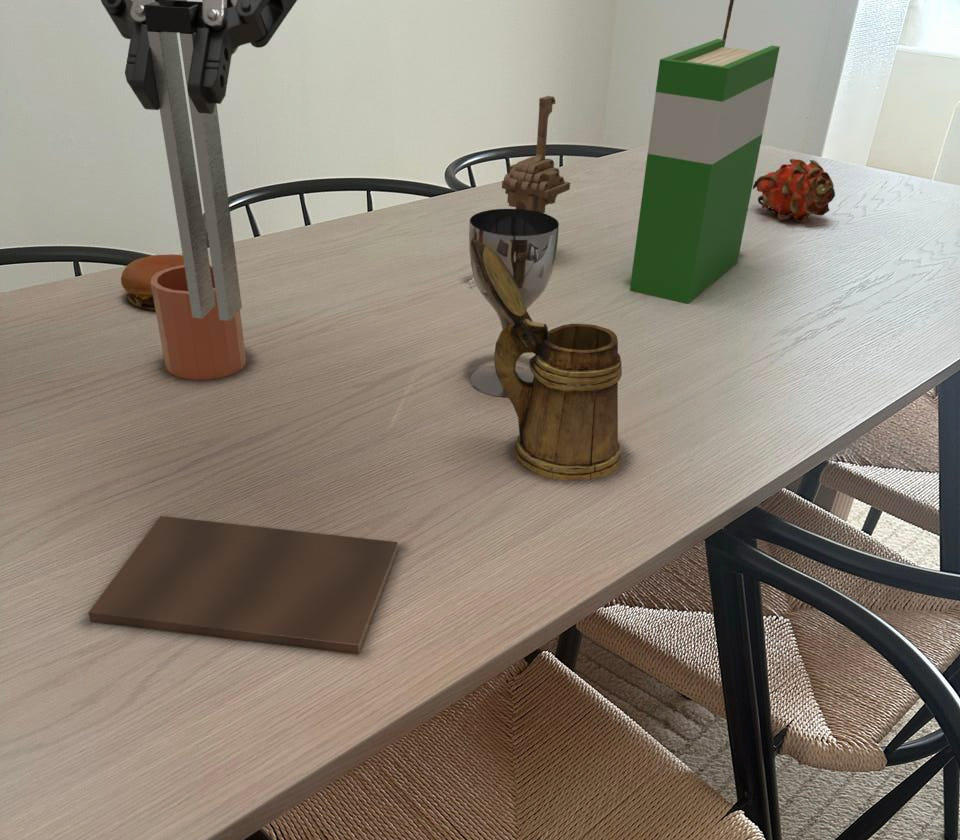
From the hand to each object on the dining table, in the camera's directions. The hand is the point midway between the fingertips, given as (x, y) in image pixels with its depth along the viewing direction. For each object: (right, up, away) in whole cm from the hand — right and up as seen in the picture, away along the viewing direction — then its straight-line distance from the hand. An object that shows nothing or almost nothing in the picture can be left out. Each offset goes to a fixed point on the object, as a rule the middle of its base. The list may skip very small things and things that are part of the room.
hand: (173, 101), depth 54 cm
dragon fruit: (+61, +31, +88) cm, 112 cm away
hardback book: (+42, +15, +68) cm, 81 cm away
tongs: (0, -8, +10) cm, 13 cm away
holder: (-10, -3, +42) cm, 43 cm away
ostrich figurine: (+20, +16, +68) cm, 72 cm away
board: (+1, -26, +15) cm, 30 cm away
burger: (-17, +8, +55) cm, 59 cm away
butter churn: (+51, +44, +103) cm, 123 cm away
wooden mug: (+22, -14, +31) cm, 41 cm away
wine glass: (+19, -4, +43) cm, 47 cm away
